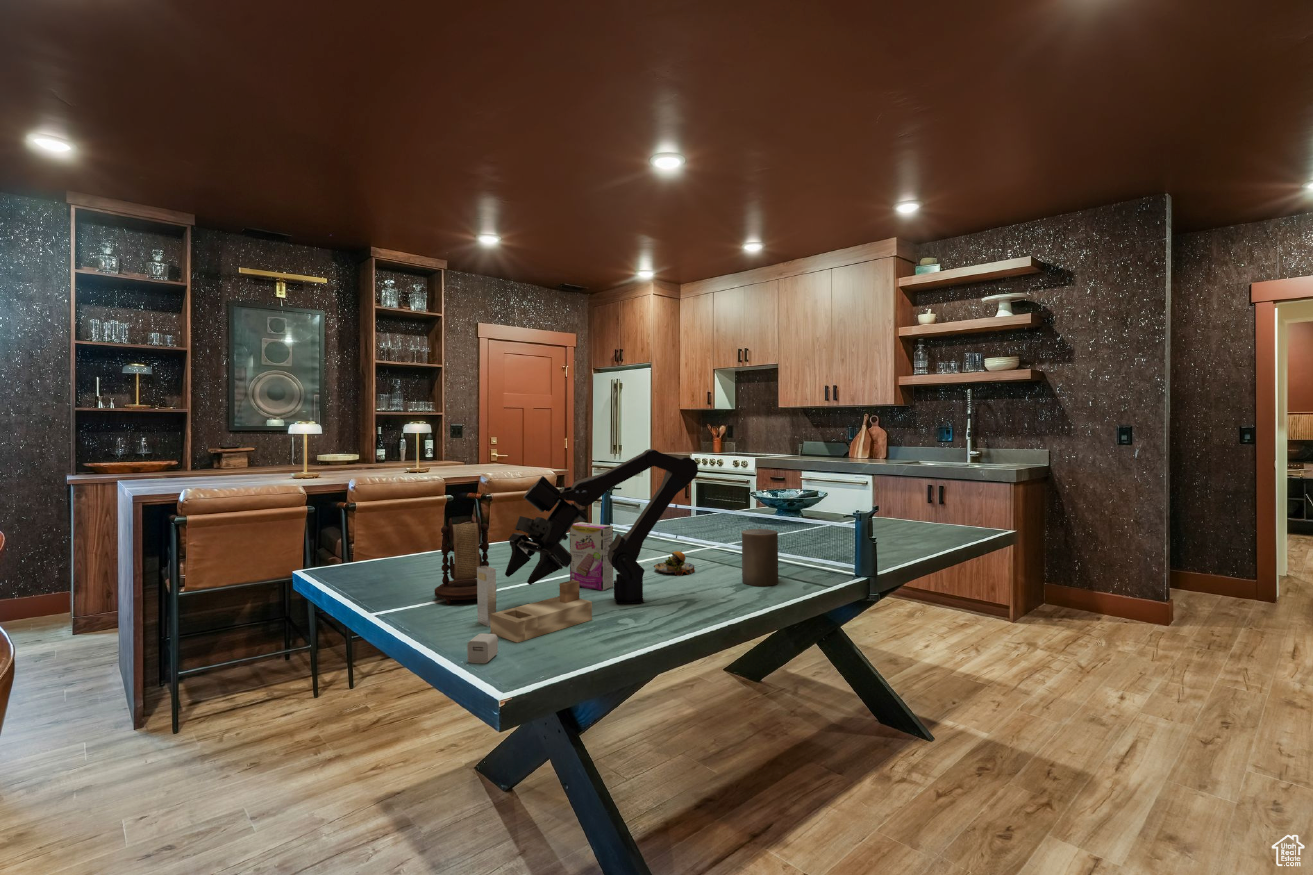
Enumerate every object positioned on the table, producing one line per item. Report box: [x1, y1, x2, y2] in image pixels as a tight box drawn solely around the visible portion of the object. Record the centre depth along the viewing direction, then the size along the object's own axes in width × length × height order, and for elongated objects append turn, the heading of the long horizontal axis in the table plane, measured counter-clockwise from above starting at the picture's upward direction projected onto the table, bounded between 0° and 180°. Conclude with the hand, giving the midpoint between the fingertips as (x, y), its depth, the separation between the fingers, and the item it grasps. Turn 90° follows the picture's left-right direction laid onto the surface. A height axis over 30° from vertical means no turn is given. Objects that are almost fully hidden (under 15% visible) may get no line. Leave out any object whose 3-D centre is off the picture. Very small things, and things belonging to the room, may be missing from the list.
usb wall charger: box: [466, 632, 499, 664], centre depth 125 cm, size 4×7×4 cm, turn 171°
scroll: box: [434, 516, 497, 606], centre depth 166 cm, size 15×15×20 cm
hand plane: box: [490, 580, 593, 644], centre depth 143 cm, size 20×9×8 cm, turn 138°
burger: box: [653, 547, 696, 577], centre depth 194 cm, size 12×12×8 cm
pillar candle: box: [741, 526, 779, 587], centre depth 180 cm, size 10×10×15 cm
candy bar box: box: [569, 521, 614, 592], centre depth 176 cm, size 11×5×16 cm, turn 58°
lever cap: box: [476, 566, 497, 627], centre depth 145 cm, size 2×4×12 cm, turn 43°
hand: (517, 579), depth 150 cm, fingers open, 9 cm apart
